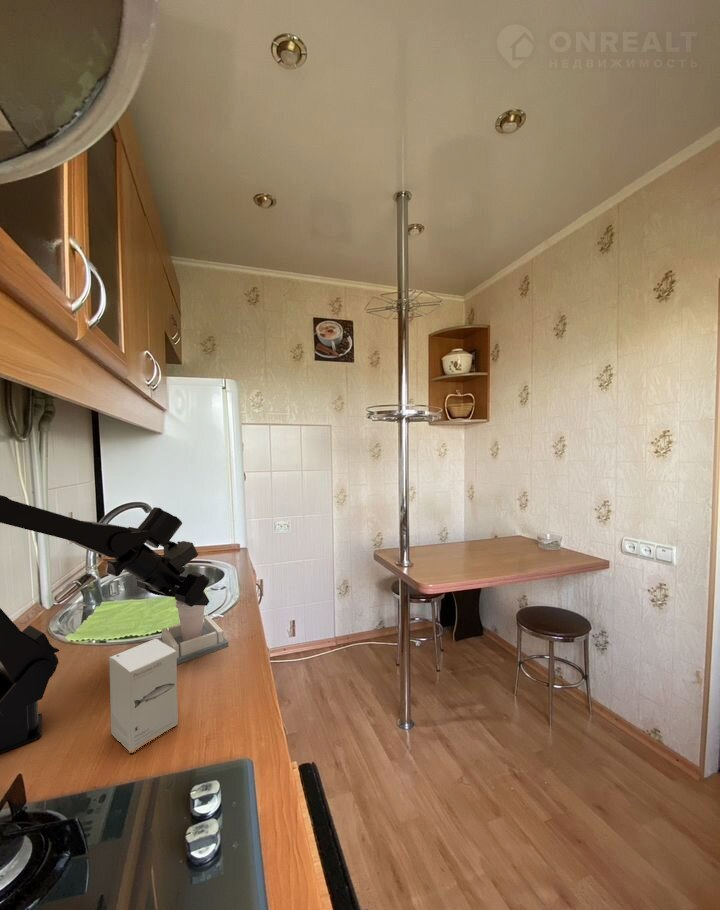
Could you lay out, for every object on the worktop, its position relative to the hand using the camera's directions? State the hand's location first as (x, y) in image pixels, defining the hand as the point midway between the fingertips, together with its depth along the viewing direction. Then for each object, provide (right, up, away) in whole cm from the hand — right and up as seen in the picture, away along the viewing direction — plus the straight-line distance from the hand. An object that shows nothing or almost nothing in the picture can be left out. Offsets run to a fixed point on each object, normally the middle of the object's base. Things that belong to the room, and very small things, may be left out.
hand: (196, 599), depth 87 cm
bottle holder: (-1, -10, -1) cm, 10 cm away
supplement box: (+3, -11, -26) cm, 29 cm away
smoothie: (-1, -9, -1) cm, 9 cm away
